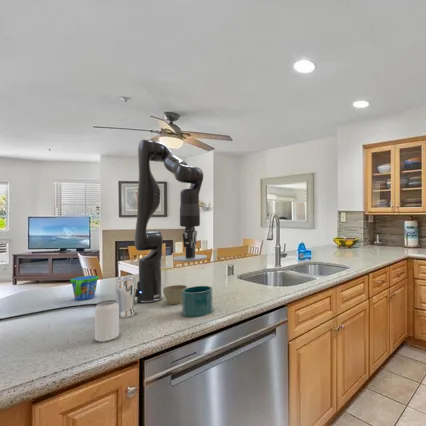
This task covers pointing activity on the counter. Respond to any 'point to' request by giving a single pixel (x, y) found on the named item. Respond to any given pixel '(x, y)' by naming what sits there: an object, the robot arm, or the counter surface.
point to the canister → (197, 301)
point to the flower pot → (174, 293)
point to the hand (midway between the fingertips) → (190, 256)
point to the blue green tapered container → (84, 287)
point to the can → (106, 320)
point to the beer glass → (126, 296)
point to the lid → (190, 259)
